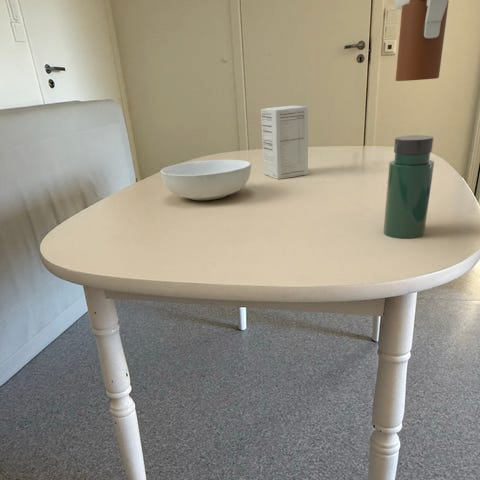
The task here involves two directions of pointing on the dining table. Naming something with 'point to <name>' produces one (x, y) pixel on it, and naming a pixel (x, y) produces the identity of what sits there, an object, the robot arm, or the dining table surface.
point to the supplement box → (285, 141)
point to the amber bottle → (418, 44)
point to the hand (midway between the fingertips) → (421, 40)
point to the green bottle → (409, 187)
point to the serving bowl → (206, 178)
